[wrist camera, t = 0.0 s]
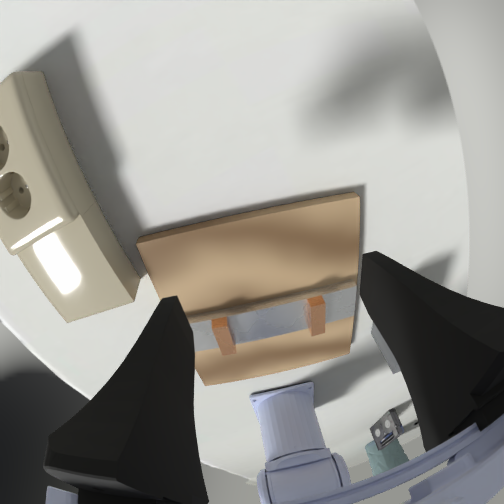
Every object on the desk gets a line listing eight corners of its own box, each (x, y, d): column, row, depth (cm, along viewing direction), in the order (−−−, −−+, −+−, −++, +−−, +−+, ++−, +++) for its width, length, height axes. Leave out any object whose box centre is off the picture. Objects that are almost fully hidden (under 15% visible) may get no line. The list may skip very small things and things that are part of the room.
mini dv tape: (375, 427, 49) (384, 449, 43) (369, 428, 48) (378, 450, 43) (394, 408, 45) (405, 432, 39) (388, 409, 44) (399, 434, 39)
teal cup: (356, 451, 58) (368, 487, 48) (373, 437, 53) (388, 476, 43) (386, 442, 60) (399, 475, 50) (404, 427, 55) (420, 463, 45)
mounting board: (346, 346, 30) (349, 353, 29) (204, 378, 29) (205, 386, 28) (353, 191, 20) (359, 196, 19) (138, 237, 20) (135, 244, 19)
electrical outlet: (63, 330, 19) (-48, 134, 9) (78, 298, 22) (-15, 122, 13) (131, 310, 18) (12, 69, 9) (141, 276, 22) (44, 69, 12)
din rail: (350, 308, 25) (358, 323, 23) (188, 344, 24) (187, 361, 23) (352, 278, 23) (361, 293, 21) (174, 317, 23) (173, 335, 21)
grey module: (400, 322, 29) (424, 360, 24) (370, 333, 29) (393, 373, 24) (410, 282, 26) (441, 321, 21) (377, 292, 26) (406, 335, 21)
